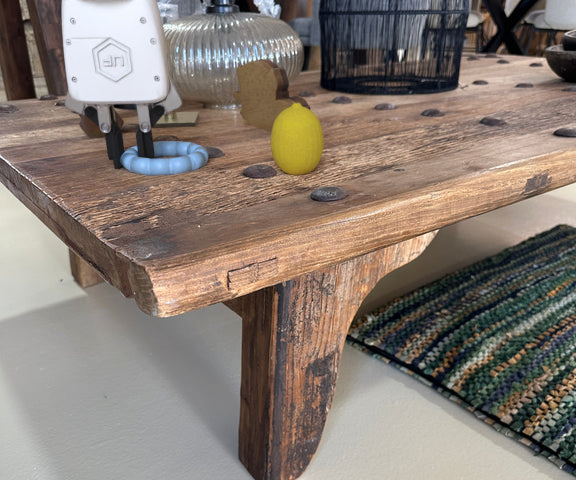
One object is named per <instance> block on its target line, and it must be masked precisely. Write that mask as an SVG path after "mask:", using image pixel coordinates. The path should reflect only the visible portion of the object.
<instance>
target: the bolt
mask: <svg viewBox="0 0 576 480" xmlns="http://www.w3.org/2000/svg"><path fill="white" fill-rule="evenodd" d="M95 105H96V104H95ZM114 110H115V118H116V123H118V127H120V129H122V130H123V127H124V124H125V121H124V119H123V118H122V117H121V116H120V114H119V113H118V112H117V110H116V109H115V108H114ZM78 117H79V118H80V121H79V124H78V125H79V126H78V127H80V129H81V130H82V132H83V133H84V134H85V135H86V136H87V138H88V139H89V140H94V139H104V138H105V133H103V132H102V131H101V130H100V128H99V127H98V126H97V125H96V124H95V123H94V122H92V121H91V120H90V119H89V118H88V117H86V116H85V115H83V114H79V113H78Z"/></svg>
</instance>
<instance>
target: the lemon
mask: <svg viewBox="0 0 576 480" xmlns="http://www.w3.org/2000/svg"><path fill="white" fill-rule="evenodd" d="M270 133H271V134H270V151H271V155H272V158H273V161H274V163H275V165H276V166H277V167H278V168H279V169H280V171H282V172H284V173H286V174H288V175H291V176H303V175H306V174H308V173H311V172H312V171H313V170H314V169H315V168H316V167H317V166H318V165H319V163H320V162H321V159H322V157H323V152H324V145H325V140H324V139H325V138H324V131H323V127H322V123H321V121H320V118H319V117H318V116H317V115H316V113H314V111H312V110H309V109H308V108H305V107H303V106H302V105H301V104H300V103H293V105H292V106H291V107H289V108H287V109H285V110H284V111H282V112H281V113H280V114H279V115H278V116H277V118H276V119H275V122H274V124H273V128H272V132H270Z"/></svg>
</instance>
